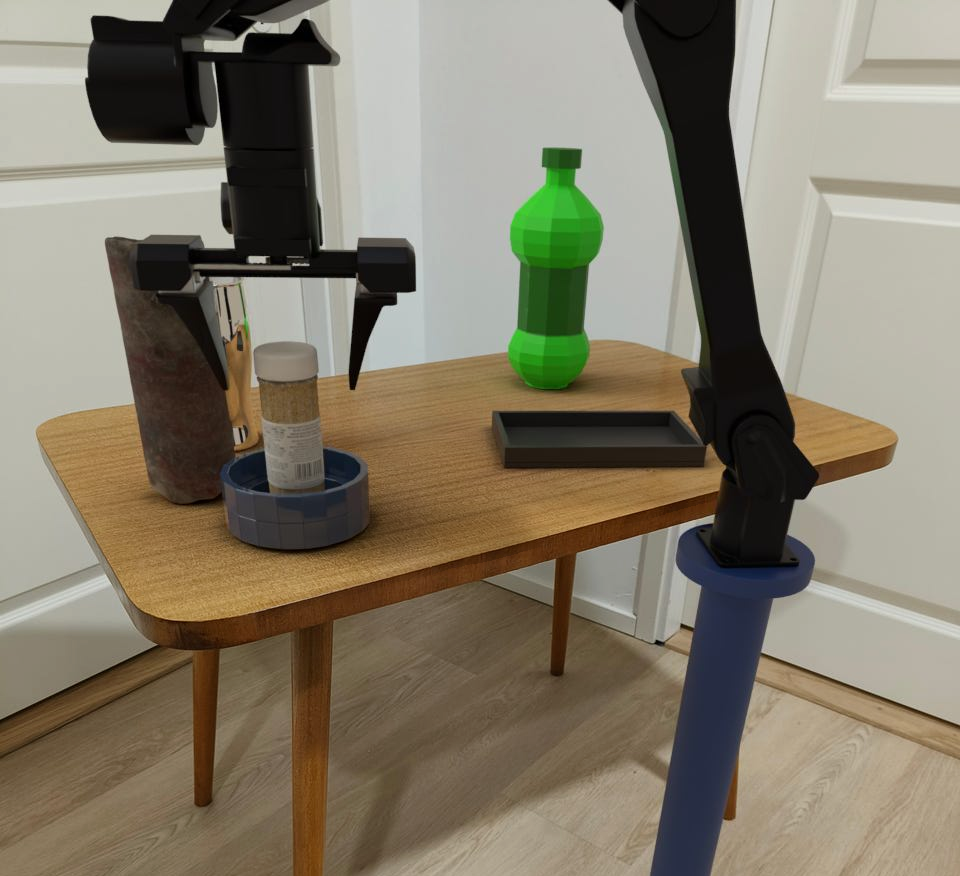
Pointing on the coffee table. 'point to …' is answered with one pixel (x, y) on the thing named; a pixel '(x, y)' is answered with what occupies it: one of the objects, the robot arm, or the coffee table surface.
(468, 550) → the coffee table surface
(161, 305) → the brown stone pillar
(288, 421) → the sprinkles bottle
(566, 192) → the plastic bottle
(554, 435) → the tray
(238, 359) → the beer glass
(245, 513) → the bowl
